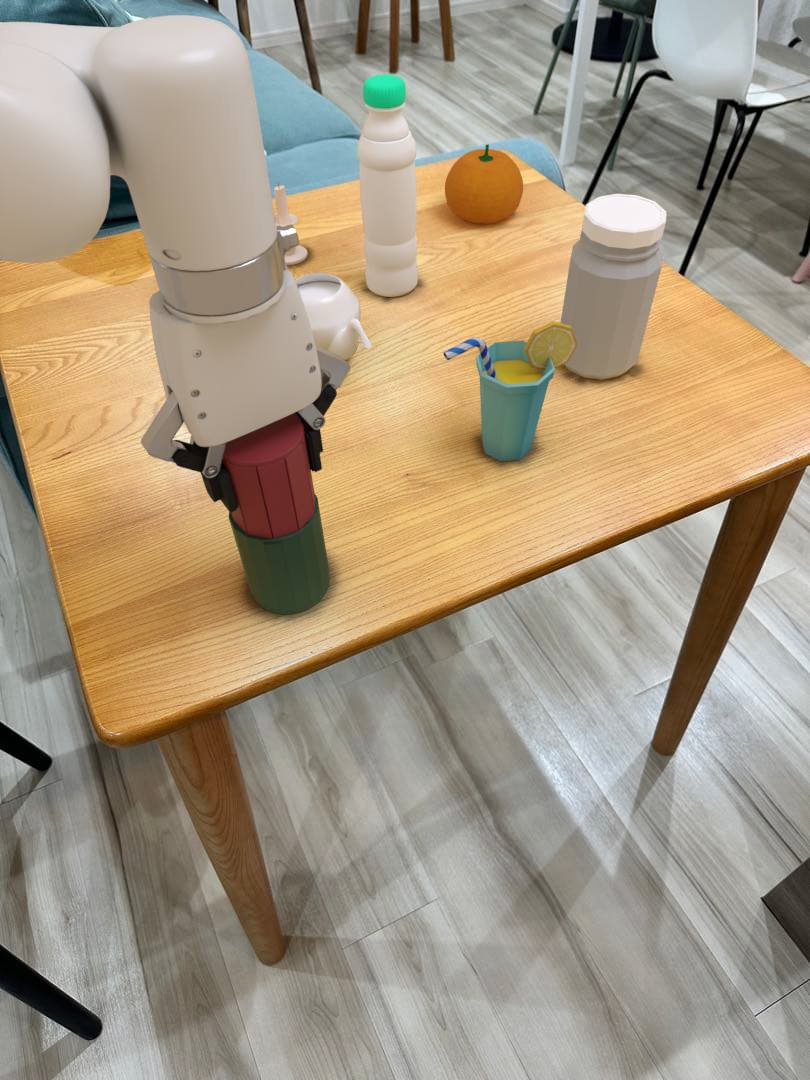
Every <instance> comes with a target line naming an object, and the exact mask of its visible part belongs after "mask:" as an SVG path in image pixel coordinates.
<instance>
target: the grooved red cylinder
mask: <svg viewBox="0 0 810 1080" xmlns="http://www.w3.org/2000/svg"><path fill="white" fill-rule="evenodd" d="M221 464H222V465H223V466H224V467H225V469H226V470H227V471H228V473H229V475H230V479H231V482H232V486H233V489H234V493H235V497H236V500H237V504H238V508H237V510H236V511H234V512H232V517H233V520H234V521H235V522H236V523H237V524H238V525H239V526H240V527H241V528H242V529H243V530H244V531H245V532H246V533H247V534H249V535H254V536H260V537H266V538H273V537H274V538H277V537H280V536H283V535H287V534H290V533H293V532H296V531H298V529H299V530H300V529H301V528H302V527H303V526H304V525H305V524H306V523H307V521H308V520H309V519H310V518H311V517H312V516H313V515H314V513H315V494H316V493H315V487H314V482H313V476H312V475H313V474H312V470H311V469H310V463H309V457H308V451H307V445H306V439H305V431H304V425H303V423H302V422H301V420H300V419H299V417H298V416H297V415H296V414H295V413H293V414H291V415H288V416H286V417H284V418H282V419H279V420H277V421H275V422H273V423H270V424H268V425H266V426H264V427H261V428H259V429H257V430H254V431H252V432H250V433H248V434H245V435H243V436H240V437H238V438H236V439H233V440H231V441H228V442H226V446H225V450H224V454H223V459H222V463H221Z"/></svg>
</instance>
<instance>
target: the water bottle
mask: <svg viewBox="0 0 810 1080" xmlns="http://www.w3.org/2000/svg"><path fill="white" fill-rule="evenodd" d="M406 89H407V88H406V83H405V81H404V79H403V78H401V77H400V76H397V75H394V74H386V73H384V74H375V75H372V76H370V77H368V78H367V79H366V80H365V81H364V83H363V86H362V97H363V102H364V107H365V108H366V109H367V111H368V115H367V118H366V120H365V121H364V124H363V127H362V131H361V134H360V136H359V139H358V142H357V147H356V154H357V159H358V161H359V173H358V174H359V198H360V211H361V222H362V229H363V234H364V235H363V254H364V258H365V267H364V268H365V269H364V271H365V272H364V275H365V276H364V277H365V283H366V284H365V285H366V287H367V288H368V289H369V290H370V291H371V292H372V293H373V294H375V295H378V296H381V297H387V298H397V297H401V296H404V295H407V294H409V293H411V292H412V291H413V290H414V289H415V288H416V287H417V285H418V282H419V281H418V280H419V272H418V261H417V257H418V238H417V233H416V232H417V231H416V230H417V218H418V217H417V214H418V189H417V185H418V184H417V171H416V161H415V160H416V157H417V143H416V141H415V138H414V136H413V133H412V131H411V130H410V128H409V124H408V121H407V120H406V118H405V117H404V115H403V108H404V107H405V105H406V97H407V95H406V94H407V92H406Z"/></svg>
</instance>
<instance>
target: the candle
mask: <svg viewBox="0 0 810 1080" xmlns="http://www.w3.org/2000/svg"><path fill="white" fill-rule="evenodd" d="M277 185H278V186H275V187H274V189H273V191H274V192H273V193H274V194H273V195H274V202H275V208H276V215H275V214H274V217H275V221H276V226H279V225H280V226H281V227H284V226H287V225H290V224H291V225H293V226H294V225H296V224H297V223H298V222H299V217H298V215H296V214H294V213H290V210H289V204H288V197H287V193H286V187H285V185H280V183H279V182H278V184H277ZM308 254H309V253H308V250H307V248H306V247H304V246H303V245H301V244H299V245H298V246H296V247H293V248H290V249H289V251H288V252H286V253H285V257H284V258H285V264H286V266H295V265H298V264H301V263H302V262H304V261H305V260H306V259H307V257H308Z"/></svg>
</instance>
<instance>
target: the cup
mask: <svg viewBox="0 0 810 1080" xmlns="http://www.w3.org/2000/svg"><path fill="white" fill-rule="evenodd" d="M577 345H578V344H577V341H576V338H575V335H574V332H573V329H572V327H571V326H569V325H566V324H562V323H561V322H558V321H554V320H552V321H550V322H548V323H546V324H544V325H542V326H540V327H538V328H536V329H533V330H532V332H531V334H530V336H529V338H528V339H527V341H525V340H511V341H510V340H509V341H498V342H497V341H496V342H493V343H492V344H491V345H489V346H487V343H486V341H485V340H484V339H482V338H479V337H475V336H472V337H470V338H468V339H466V340H465V341H462V342H461V343H459V344H457V345H455V346H452V347H451V348H449V349H447V350H445V351H443V357H444V358H445V359H446V360H447V361H450V360H452V359H454V358H456V357H458V356H460V355H462V354H464V353H466V352H468V351H470V350H472V349H474V348H478V351H479V354H477V356H475V360H476V362H475V363H476V369H477V372H478V377H479V393H480V395H479V396H480V397H479V399H480V422H481V425H480V426H481V441H482V442H481V443H482V446H483V451H484V454H486V455H488V456H490V457H491V458H494V459H495V460H497V461H499V462H510V461H512V462H513V461H521V460H522V459H523V458H524V457H525V456H526V455H527V454H528V453H529V452H530V451H531V450H532V448H533V443H534V439H535V436H536V431H537V428H538V424H539V421H540V418H541V417H540V416H541V413H542V409H543V405H544V401H545V398H546V395H547V390H548V386H549V383H550V381H551V380H552V379H553V378H554V376H555V372H556V369H557V368H560V367H562V366H563V365H564V364H565V363H568V361H569V359H570V358H571V356H572V354H573V352H574V351H575V349H576V347H577Z"/></svg>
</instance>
